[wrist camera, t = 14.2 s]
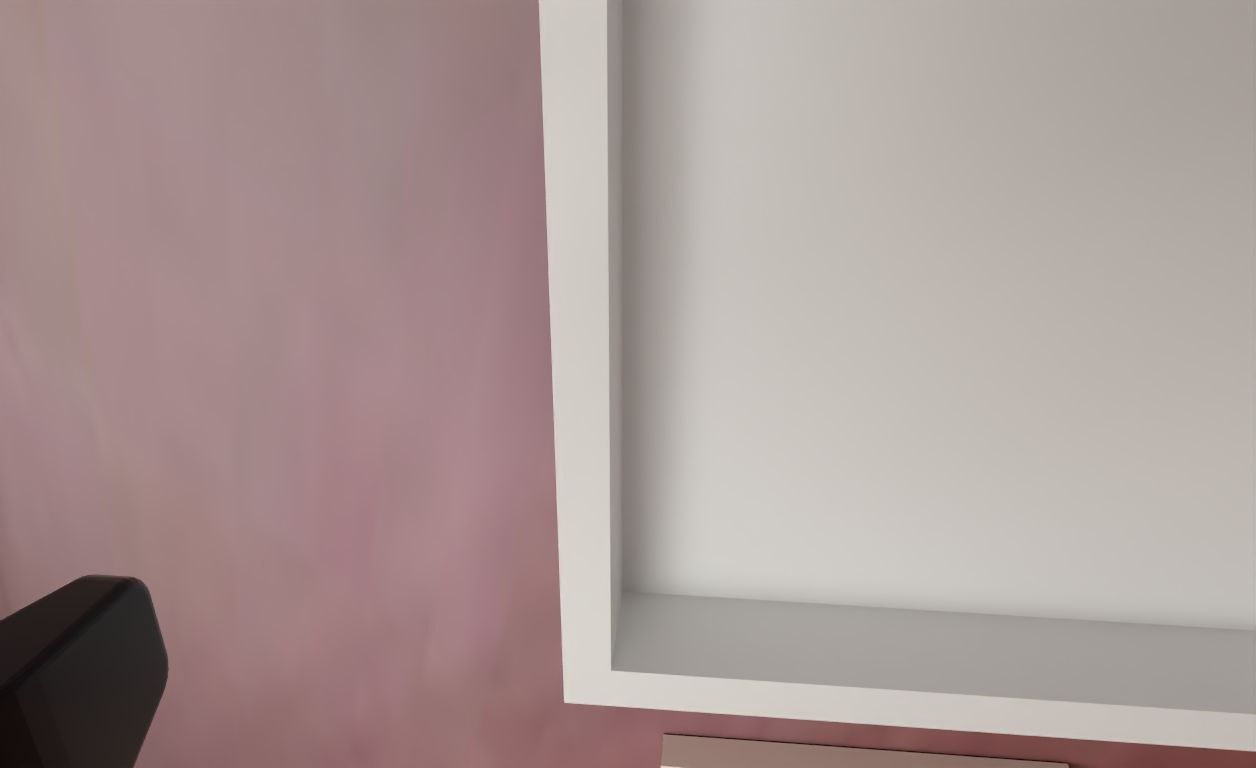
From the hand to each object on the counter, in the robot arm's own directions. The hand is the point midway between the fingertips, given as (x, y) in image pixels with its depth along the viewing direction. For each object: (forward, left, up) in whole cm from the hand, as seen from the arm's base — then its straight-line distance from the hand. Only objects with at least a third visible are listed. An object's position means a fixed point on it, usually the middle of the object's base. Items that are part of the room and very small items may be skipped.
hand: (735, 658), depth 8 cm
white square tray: (+6, -2, -13) cm, 14 cm away
